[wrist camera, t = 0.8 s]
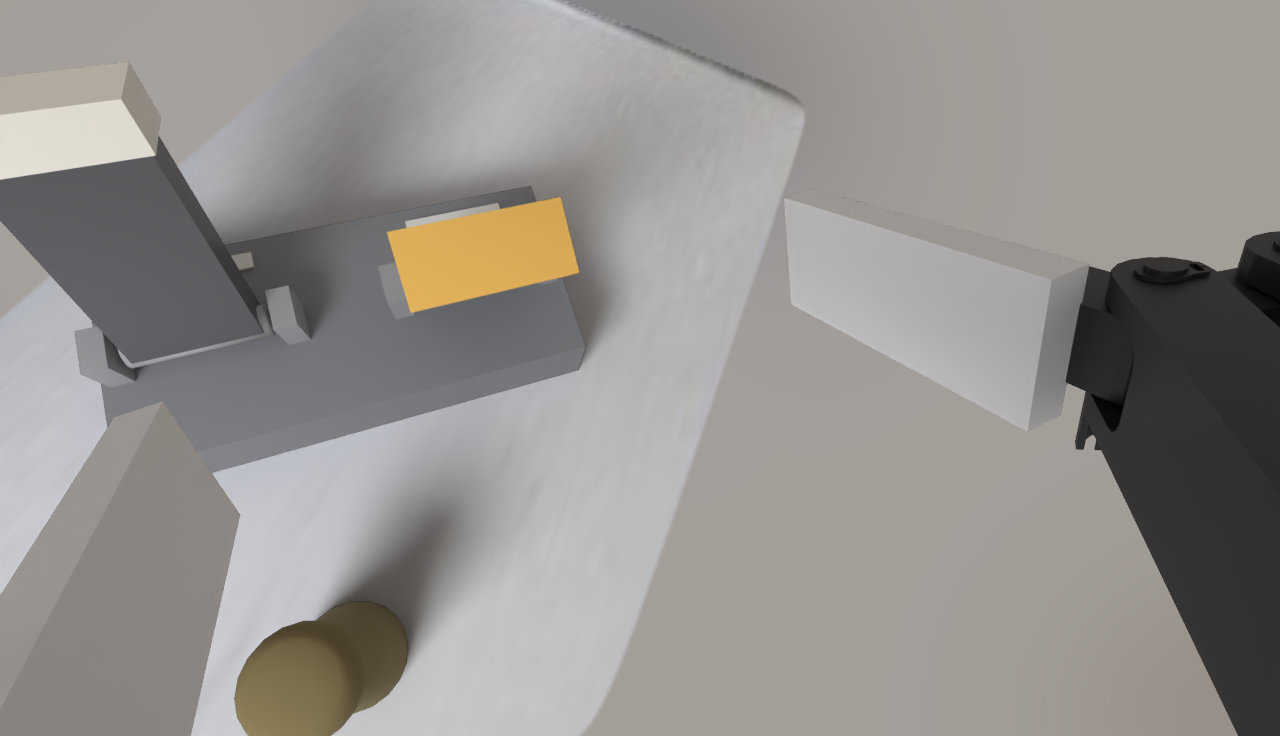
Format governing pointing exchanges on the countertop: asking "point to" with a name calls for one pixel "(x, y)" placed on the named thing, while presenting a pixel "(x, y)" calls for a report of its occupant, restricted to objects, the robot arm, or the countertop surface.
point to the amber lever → (483, 254)
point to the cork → (321, 672)
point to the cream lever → (117, 216)
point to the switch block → (344, 344)
